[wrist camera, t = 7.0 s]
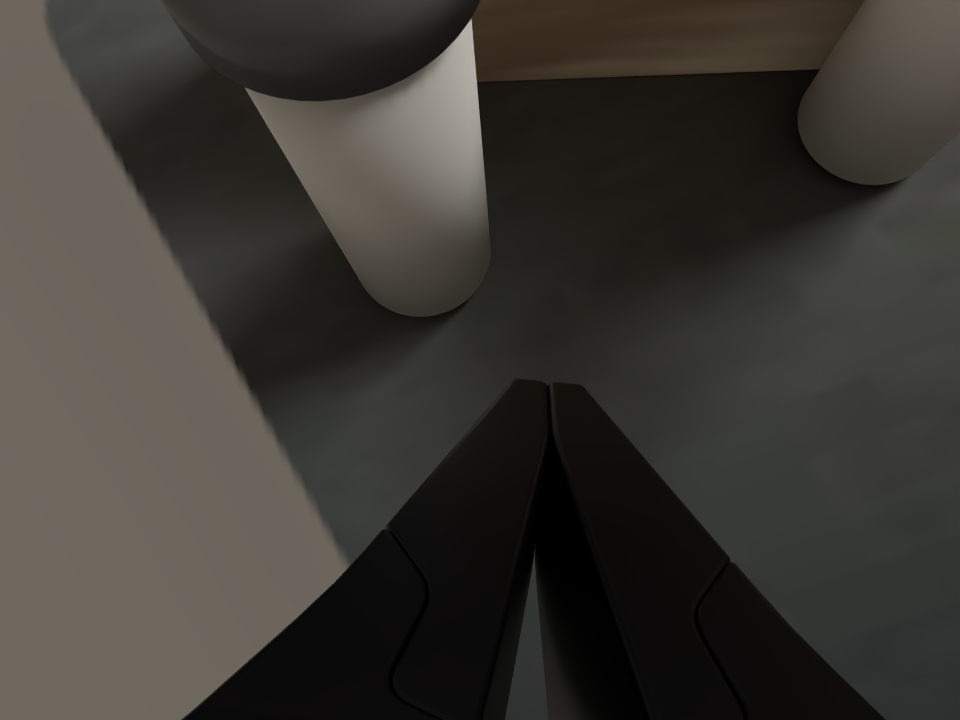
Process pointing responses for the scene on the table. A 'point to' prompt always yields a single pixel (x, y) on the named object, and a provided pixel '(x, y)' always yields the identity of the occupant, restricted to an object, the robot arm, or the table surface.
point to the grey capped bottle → (369, 129)
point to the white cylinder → (886, 92)
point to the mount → (653, 37)
